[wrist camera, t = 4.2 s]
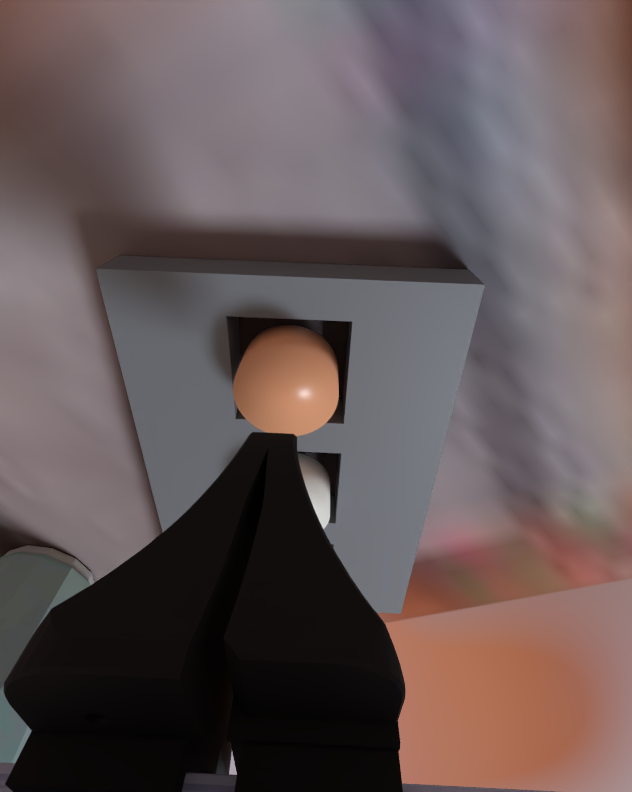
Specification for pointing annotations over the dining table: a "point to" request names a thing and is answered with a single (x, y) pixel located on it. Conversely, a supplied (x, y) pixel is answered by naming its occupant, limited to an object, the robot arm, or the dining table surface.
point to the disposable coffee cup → (29, 619)
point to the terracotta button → (287, 381)
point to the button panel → (355, 414)
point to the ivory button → (316, 486)
